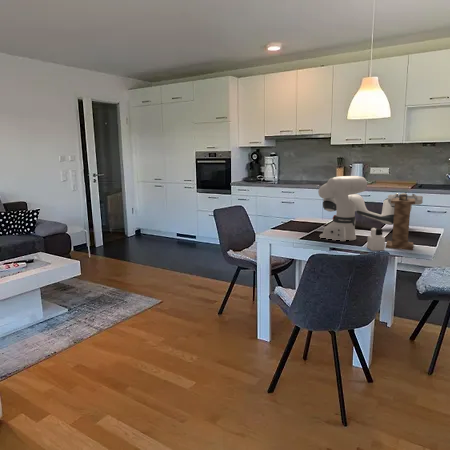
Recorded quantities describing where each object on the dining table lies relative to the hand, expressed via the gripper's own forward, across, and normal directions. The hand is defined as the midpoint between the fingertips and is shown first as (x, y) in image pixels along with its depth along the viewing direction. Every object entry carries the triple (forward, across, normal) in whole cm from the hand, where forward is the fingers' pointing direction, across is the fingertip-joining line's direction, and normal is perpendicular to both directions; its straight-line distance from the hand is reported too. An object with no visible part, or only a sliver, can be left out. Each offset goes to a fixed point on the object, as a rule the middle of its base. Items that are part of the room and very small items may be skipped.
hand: (405, 194), depth 240 cm
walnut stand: (+12, 0, -37) cm, 39 cm away
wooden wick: (+20, +1, -11) cm, 22 cm away
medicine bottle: (+21, +12, -43) cm, 49 cm away
